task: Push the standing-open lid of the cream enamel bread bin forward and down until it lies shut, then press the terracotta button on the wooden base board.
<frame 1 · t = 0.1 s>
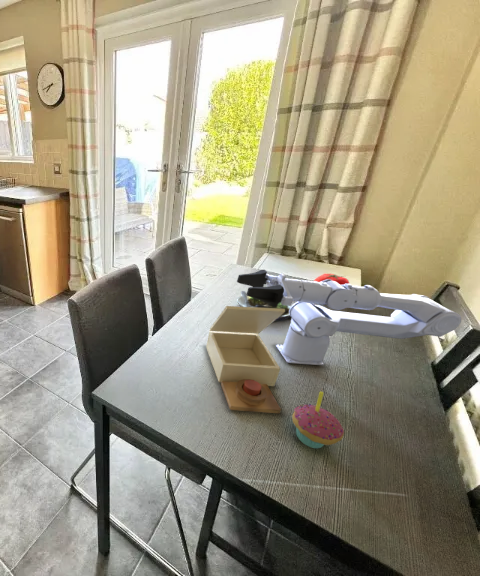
hand: (242, 284, 80), 22 cm above the table, tool horizontal, fingers open, 7 cm apart
salad plate: (263, 309, 111), on the table
button: (252, 387, 72), point 3 cm above the table, slide at 0.1 cm
lid: (243, 320, 81), point 13 cm above the table, hinge at 54.9°
bread bin: (237, 365, 84), on the table
cupcake: (309, 439, 64), on the table
wooden base board: (248, 398, 73), on the table
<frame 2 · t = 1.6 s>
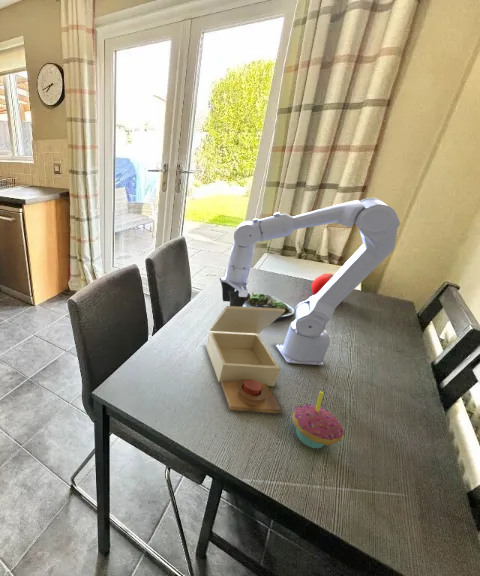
hand: (229, 306, 92), 10 cm above the table, tool pointing down, fingers open, 7 cm apart
nothing on the table moved.
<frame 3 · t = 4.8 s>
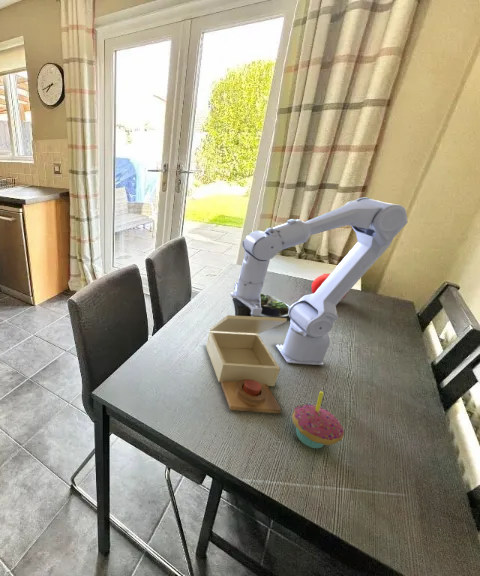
hand: (240, 324, 83), 10 cm above the table, tool pointing down, fingers closed
lid: (244, 325, 80), point 12 cm above the table, hinge at 45.9°, touching gripper
everything else where it was.
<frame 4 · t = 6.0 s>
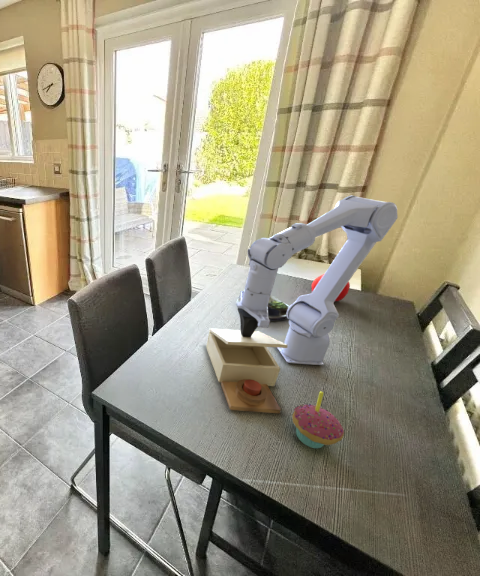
hand: (245, 335, 79), 10 cm above the table, tool pointing down, fingers closed
lid: (244, 337, 80), point 9 cm above the table, hinge at 22.6°, touching gripper
everything else where it was.
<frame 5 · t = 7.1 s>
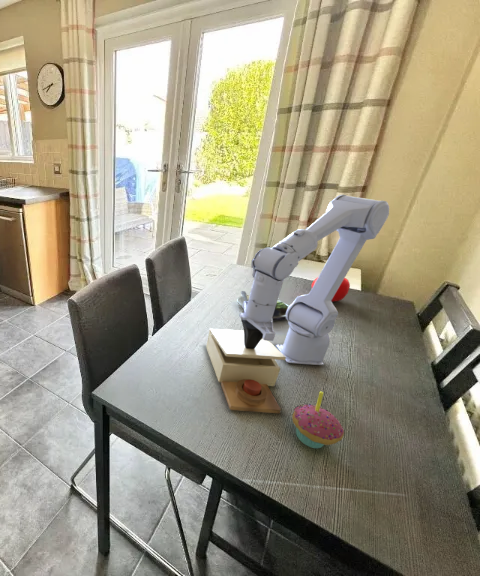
hand: (249, 347, 76), 9 cm above the table, tool pointing down, fingers closed
lid: (243, 342, 80), point 8 cm above the table, hinge at 11.5°, touching gripper
everything else where it was.
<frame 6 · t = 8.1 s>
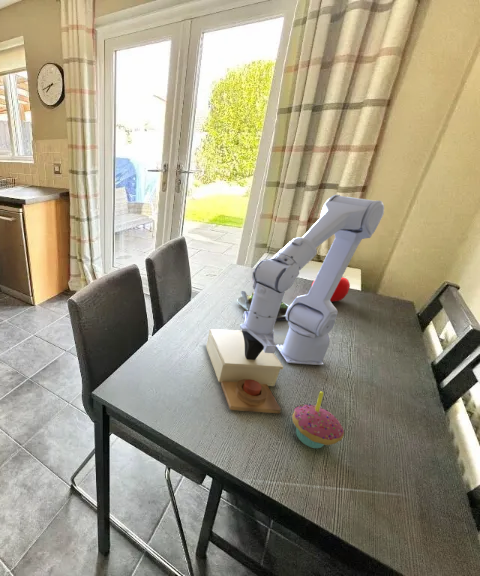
hand: (250, 358, 76), 7 cm above the table, tool pointing down, fingers closed, pressing on lid
lid: (242, 347, 80), point 6 cm above the table, hinge at 1.7°, touching gripper
everything else where it was.
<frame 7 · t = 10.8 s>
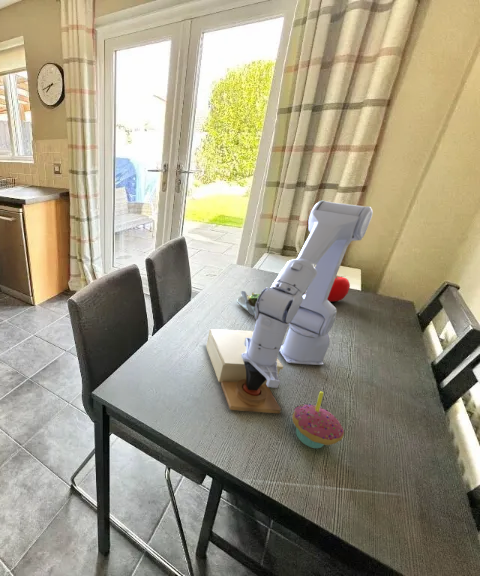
hand: (251, 388, 72), 3 cm above the table, tool pointing down, fingers closed, pressing on button
button: (251, 390, 72), point 2 cm above the table, slide at -0.9 cm, touching gripper
lid: (242, 347, 80), point 6 cm above the table, hinge at 1.7°
everything else where it was.
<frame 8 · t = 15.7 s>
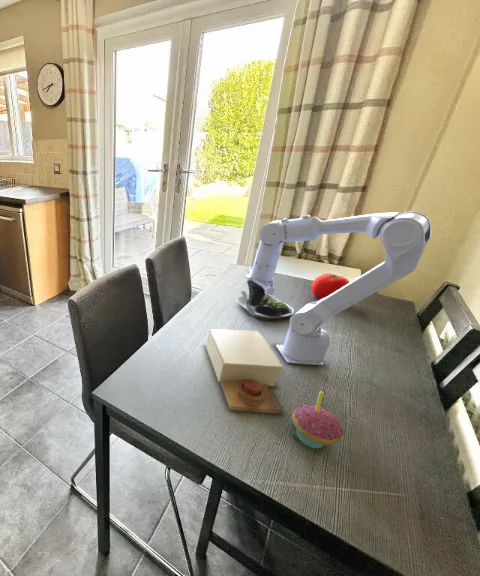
hand: (253, 304, 93), 10 cm above the table, tool pointing down, fingers closed
button: (252, 387, 72), point 3 cm above the table, slide at 0.1 cm
everything else where it was.
at the end: lid at +2° (first picture: +55°); button pushed in 1.2 cm at the most during the clip, back to where it started at the end; button slide at 0.1 cm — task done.
